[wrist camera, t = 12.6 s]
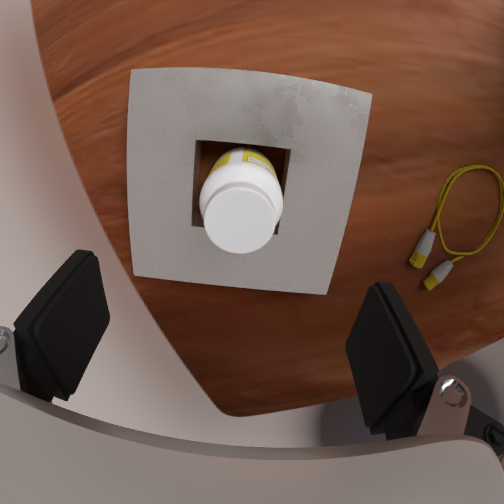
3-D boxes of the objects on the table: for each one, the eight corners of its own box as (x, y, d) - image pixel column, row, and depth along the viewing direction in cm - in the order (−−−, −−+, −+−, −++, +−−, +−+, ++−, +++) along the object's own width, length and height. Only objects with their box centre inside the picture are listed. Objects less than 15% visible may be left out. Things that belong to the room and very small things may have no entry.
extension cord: (388, 203, 26) (396, 211, 24) (493, 146, 22) (504, 150, 20) (414, 289, 31) (421, 299, 29) (503, 232, 27) (512, 239, 25)
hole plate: (144, 72, 20) (131, 69, 17) (359, 94, 21) (372, 94, 18) (143, 259, 28) (133, 275, 26) (320, 276, 29) (326, 294, 27)
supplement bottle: (216, 209, 26) (198, 268, 17) (208, 150, 23) (181, 178, 15) (277, 204, 26) (290, 261, 17) (273, 144, 23) (286, 169, 14)
